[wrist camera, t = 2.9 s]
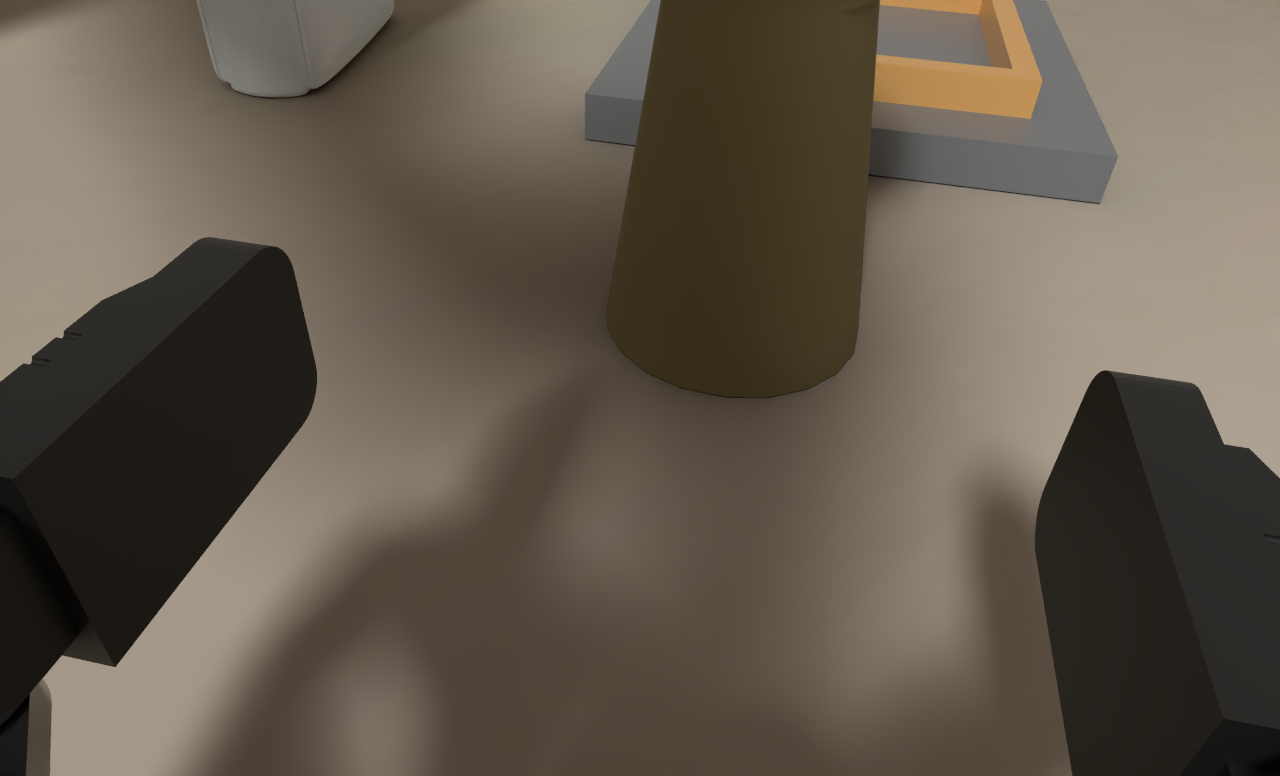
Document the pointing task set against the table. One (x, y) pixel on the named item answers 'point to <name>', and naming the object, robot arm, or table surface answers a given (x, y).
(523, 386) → the table surface
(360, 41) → the photo printer
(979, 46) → the socket plate
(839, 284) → the cork
